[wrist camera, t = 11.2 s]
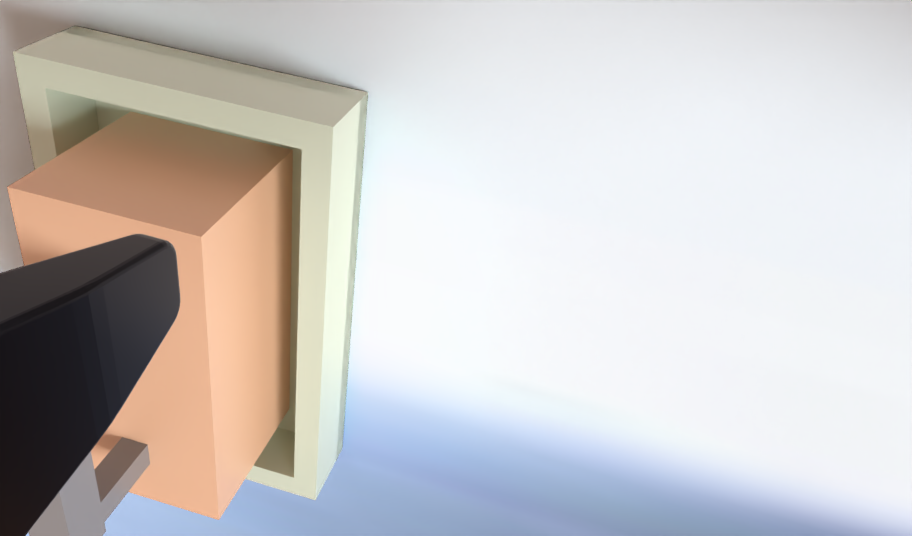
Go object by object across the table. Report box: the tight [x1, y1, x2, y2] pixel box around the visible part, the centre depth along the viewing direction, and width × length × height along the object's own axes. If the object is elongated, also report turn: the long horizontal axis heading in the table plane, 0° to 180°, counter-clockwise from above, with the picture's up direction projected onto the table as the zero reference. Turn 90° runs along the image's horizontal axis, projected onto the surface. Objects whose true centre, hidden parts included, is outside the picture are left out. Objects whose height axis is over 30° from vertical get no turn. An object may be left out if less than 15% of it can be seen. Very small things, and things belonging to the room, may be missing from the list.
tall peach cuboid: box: [7, 112, 293, 536], centre depth 22 cm, size 5×10×9 cm, turn 172°
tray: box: [13, 26, 368, 500], centre depth 25 cm, size 9×14×2 cm, turn 172°
